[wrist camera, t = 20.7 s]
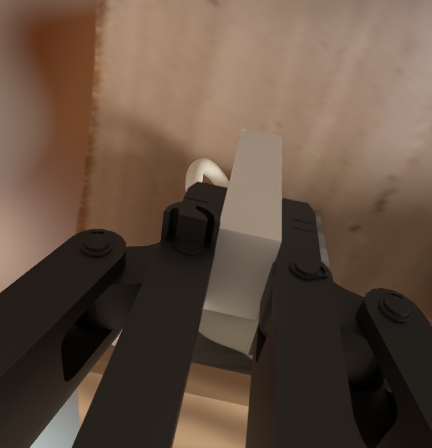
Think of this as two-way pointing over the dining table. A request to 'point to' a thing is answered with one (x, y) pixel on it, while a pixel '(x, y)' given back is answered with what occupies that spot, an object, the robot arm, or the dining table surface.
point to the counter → (205, 389)
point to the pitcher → (211, 320)
